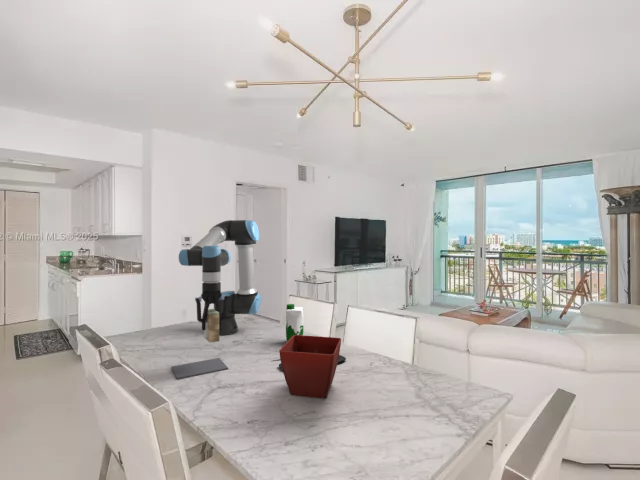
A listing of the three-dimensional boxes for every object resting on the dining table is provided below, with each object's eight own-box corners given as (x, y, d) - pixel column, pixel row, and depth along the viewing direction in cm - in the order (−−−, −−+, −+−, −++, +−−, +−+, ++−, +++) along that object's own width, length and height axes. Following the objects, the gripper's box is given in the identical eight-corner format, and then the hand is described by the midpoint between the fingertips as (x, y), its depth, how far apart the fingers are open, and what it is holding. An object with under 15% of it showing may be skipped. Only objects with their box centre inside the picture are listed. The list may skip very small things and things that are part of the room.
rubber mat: (219, 359, 157) (219, 357, 157) (228, 369, 145) (228, 367, 145) (171, 367, 146) (171, 366, 146) (177, 379, 134) (177, 378, 134)
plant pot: (333, 405, 114) (333, 354, 114) (278, 399, 118) (278, 350, 118) (341, 381, 133) (341, 337, 133) (293, 377, 137) (293, 334, 137)
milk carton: (286, 340, 185) (286, 303, 185) (303, 340, 185) (303, 303, 184) (284, 345, 176) (284, 306, 176) (302, 345, 176) (302, 306, 176)
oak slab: (213, 336, 153) (213, 308, 153) (219, 341, 145) (219, 312, 145) (204, 337, 151) (204, 309, 151) (209, 342, 143) (209, 313, 143)
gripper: (228, 279, 156) (228, 331, 156) (188, 282, 147) (188, 337, 147) (233, 281, 149) (234, 335, 149) (192, 284, 140) (192, 342, 140)
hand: (211, 336), depth 148 cm, fingers closed on oak slab, 4 cm apart
